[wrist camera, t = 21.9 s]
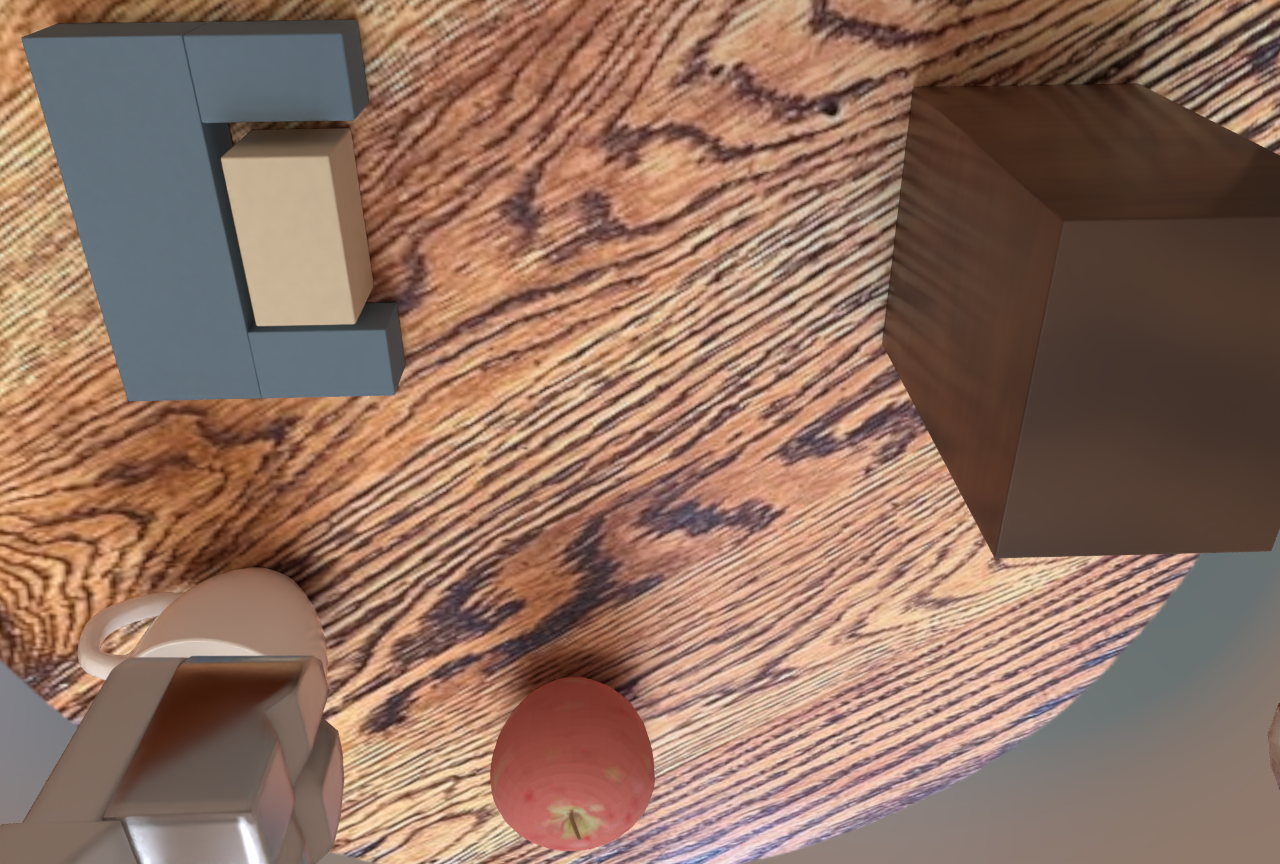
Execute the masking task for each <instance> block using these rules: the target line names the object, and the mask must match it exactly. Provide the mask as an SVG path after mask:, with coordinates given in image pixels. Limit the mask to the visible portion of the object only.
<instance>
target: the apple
mask: <svg viewBox="0 0 1280 864" xmlns="http://www.w3.org/2000/svg"><path fill="white" fill-rule="evenodd" d="M490 777H491V789H492V795H493V799H494V802H495V804H496V806H497V808H498V810H499V811H500V813H501V815H502V816H503V818H504V820H505V821H506V822H507V823H508V824H509V825H510V826H511V827H512V828H513V829H514V830H515V831H516V832H517V833H518V834H519V835H520V836H522V837H524V838H525V839H527V840H529V841H531V842H533V843H535V844H538V845H540V846H543V847H546V848H550V849H556V850H561V851H579V850H586V849H591V848H595V847H598V846H601V845H605V844H607V843H609V842H611V841H613V840H615V839H617V838H619V837H620V836H621V835H622V834H624V833H625V832H626V831H628V830H629V829H630V828H631V827H632V826H633V825H634V824H635V823H636V822H637V820H638V819H639V818H640V817H641V816H642V814H643V813H644V811H645V810H646V808H647V806H648V803H649V801H650V798H651V795H652V792H653V789H654V782H655V776H654V760H653V754H652V748H651V744H650V741H649V738H648V735H647V732H646V728H645V725H644V723H643V721H642V720H641V718H640V716H639V715H638V713H637V712H636V710H635V709H634V707H633V706H632V704H631V703H630V702H629V701H628V700H627V699H626V698H625V697H623V696H622V695H621V694H619V693H618V692H617V691H615V690H614V689H612V688H611V687H609V686H607V685H605V684H602V683H600V682H597V681H595V680H592V679H587V678H583V677H567V678H561V679H557V680H554V681H552V682H549V683H547V684H545V685H543V686H541V687H539V688H538V689H536V690H534V691H533V692H531V693H530V694H529V695H528V696H527V697H526V698H525V699H524V700H523V701H522V702H521V703H520V704H519V705H518V706H517V707H516V709H515V710H514V711H513V713H512V714H511V716H510V717H509V719H508V720H507V722H506V723H505V725H504V727H503V728H502V730H501V732H500V734H499V737H498V740H497V743H496V746H495V750H494V753H493V757H492V762H491V771H490Z"/></svg>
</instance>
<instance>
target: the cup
mask: <svg viewBox="0 0 1280 864" xmlns="http://www.w3.org/2000/svg"><path fill="white" fill-rule="evenodd" d="M155 616H157V618H156V619H155V620H154V621H153V623H152V624H151V625H150V626H149V628H148V629H147V631H146V632H145V634H144V635H143V636H142V638H141V640H140V641H139V643H138V644H137V646H136V647H135V648H134V650H132V651H131V652H130V653H129V654H126V655H113V654H109V653H105V652H103V651H102V650H101V649H100V648H101V645H102V642H103V640H104V639H105V638H106V637H107V636H108V635H109V634H111V633H112V632H114V631H115V630H117V629H119V628H121V627H123V626H126V625H128V624H131V623H134V622H137V621H140V620H143V619H147V618H151V617H155ZM307 655H313V656H314V657H316V658H318V659H319V660H321V661H322V665H323V668H324V672H325V676H326V679H327V665H328V659H327V647H326V640H325V636H324V632H323V628H322V625H321V622H320V619H319V616H318V614H317V612H316V610H315V608H314V606H313V604H312V603H311V601H310V600H309V598H308V597H307V595H306V594H305V593H304V591H303V590H302V589H301V587H300V586H299V585H298V584H297V583H296V582H295V581H293V580H292V579H291V578H289V577H288V576H286V575H284V574H282V573H280V572H277V571H275V570H271V569H267V568H260V567H250V568H243V569H238V570H233V571H229V572H226V573H222V574H219V575H217V576H214V577H212V578H209V579H207V580H205V581H203V582H201V583H199V584H197V585H196V586H194V587H192V588H191V589H189V590H188V591H186V592H185V593H183V594H182V593H174V592H163V593H154V594H149V595H144V596H140V597H135V598H132V599H129V600H125V601H122V602H119V603H117V604H114V605H112V606H110V607H108V608H106V609H104V610H102V611H100V612H99V613H97V614H96V615H95V616H94V617H92V618H91V619H90V620H89V622H88V623H87V624H86V626H85V627H84V629H83V631H82V634H81V637H80V640H79V646H78V661H79V663H80V665H81V667H82V669H83V670H85V671H86V672H87V673H89V674H91V675H93V676H95V677H97V678H100V679H103V680H106V679H107V677H108V675H109V674H110V672H111V671H112V669H113V668H114V667H116V666H117V665H119V664H120V663H121V662H123V661H124V660H126V659H127V658H129V657H185V658H190V657H191V656H307Z"/></svg>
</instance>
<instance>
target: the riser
mask: <svg viewBox="0 0 1280 864" xmlns="http://www.w3.org/2000/svg"><path fill="white" fill-rule="evenodd" d="M882 344H883V346H884V348H885V350H886V352H887V354H888V356H889V358H890V359H891V361H892V363H893V365H894V367H895V369H896V371H897V373H898V375H899V377H900V379H901V380H902V382H903V384H904V386H905V388H906V390H907V392H908V394H909V396H910V398H911V399H912V401H913V403H914V405H915V407H916V409H917V411H918V413H919V415H920V417H921V419H922V420H923V422H924V424H925V426H926V428H927V430H928V432H929V434H930V436H931V438H932V440H933V441H934V443H935V445H936V447H937V449H938V451H939V453H940V455H941V457H942V459H943V461H944V462H945V464H946V466H947V468H948V470H949V472H950V474H951V476H952V478H953V480H954V481H955V483H956V485H957V487H958V489H959V491H960V493H961V495H962V497H963V499H964V501H965V502H966V504H967V506H968V508H969V510H970V512H971V514H972V516H973V518H974V520H975V522H976V523H977V525H978V527H979V529H980V531H981V533H982V535H983V537H984V539H985V541H986V543H987V544H988V546H989V548H990V550H991V552H992V554H993V556H994V558H1024V557H1063V556H1103V555H1142V554H1181V553H1218V552H1220V553H1221V552H1259V551H1271V550H1272V548H1273V545H1274V542H1275V540H1276V537H1277V534H1278V531H1279V529H1280V155H1278V154H1276V153H1274V152H1272V151H1270V150H1268V149H1266V148H1264V147H1262V146H1260V145H1258V144H1256V143H1254V142H1252V141H1250V140H1248V139H1246V138H1244V137H1242V136H1240V135H1238V134H1236V133H1234V132H1232V131H1230V130H1228V129H1226V128H1224V127H1222V126H1220V125H1218V124H1216V123H1215V122H1213V121H1211V120H1209V119H1207V118H1205V117H1203V116H1201V115H1199V114H1197V113H1195V112H1193V111H1191V110H1189V109H1187V108H1185V107H1183V106H1181V105H1179V104H1177V103H1175V102H1173V101H1171V100H1169V99H1167V98H1165V97H1163V96H1161V95H1159V94H1157V93H1155V92H1153V91H1151V90H1149V89H1147V88H1145V87H1143V86H1141V85H1139V84H1083V85H1021V86H959V87H914V88H913V93H912V101H911V110H910V118H909V126H908V135H907V143H906V151H905V160H904V168H903V176H902V185H901V193H900V201H899V210H898V218H897V226H896V235H895V243H894V251H893V260H892V268H891V276H890V285H889V293H888V301H887V310H886V318H885V326H884V335H883V343H882Z"/></svg>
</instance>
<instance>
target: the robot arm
mask: <svg viewBox="0 0 1280 864" xmlns="http://www.w3.org/2000/svg"><path fill="white" fill-rule="evenodd" d="M328 694H329V688H328V684H327V680H326V676H325V672H324V668H323V665H322V661H321V660H319V659H318V658H316V657H314V656H313V655H307V656H191V657H190V658H185V657H129V658H127V659H126V660H124V661H123V662H121V663H120V664H119V665H117V666H116V667H114V668H113V669H112V671H111V672H110V674H109V675H108V677H107V679H106V680H105V682H104V684H103V686H102V687H101V689H100V691H99V692H98V694H97V696H96V698H95V699H94V701H93V703H92V704H91V706H90V708H89V710H88V711H87V713H86V715H85V716H84V718H83V720H82V721H81V723H80V725H79V727H78V728H77V730H76V732H75V733H74V735H73V737H72V739H71V740H70V742H69V744H68V745H67V747H66V749H65V751H64V752H63V754H62V756H61V758H60V759H59V761H58V763H57V764H56V766H55V768H54V769H53V771H52V773H51V775H50V776H49V778H48V780H47V782H46V783H45V785H44V787H43V788H42V790H41V792H40V794H39V795H38V797H37V799H36V800H35V802H34V804H33V805H32V807H31V809H30V810H29V812H28V814H27V816H26V817H25V819H24V821H23V823H16V824H15V823H14V824H2V825H0V864H316V863H317V862H318V861H319V860H320V859H321V858H323V856H325V855H326V854H327V853H328V852H329V851H330V850H331V849H332V848H333V845H334V841H335V837H336V833H337V829H338V825H339V821H340V817H341V807H342V797H343V787H344V769H343V753H342V748H341V743H340V738H339V733H338V730H336V729H335V728H334V727H333V726H332V725H330V724H329V723H328V722H327V721H326V720H324V719H323V718H322V714H323V711H324V707H325V704H326V701H327V698H328ZM1268 742H1269V753H1270V764H1271V768H1272V771H1273V773H1274V776H1275V779H1276V781H1277V784H1278V786H1279V789H1280V703H1279V704H1278V706H1277V709H1276V712H1275V715H1274V718H1273V720H1272V724H1271V726H1270V729H1269V732H1268Z"/></svg>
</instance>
